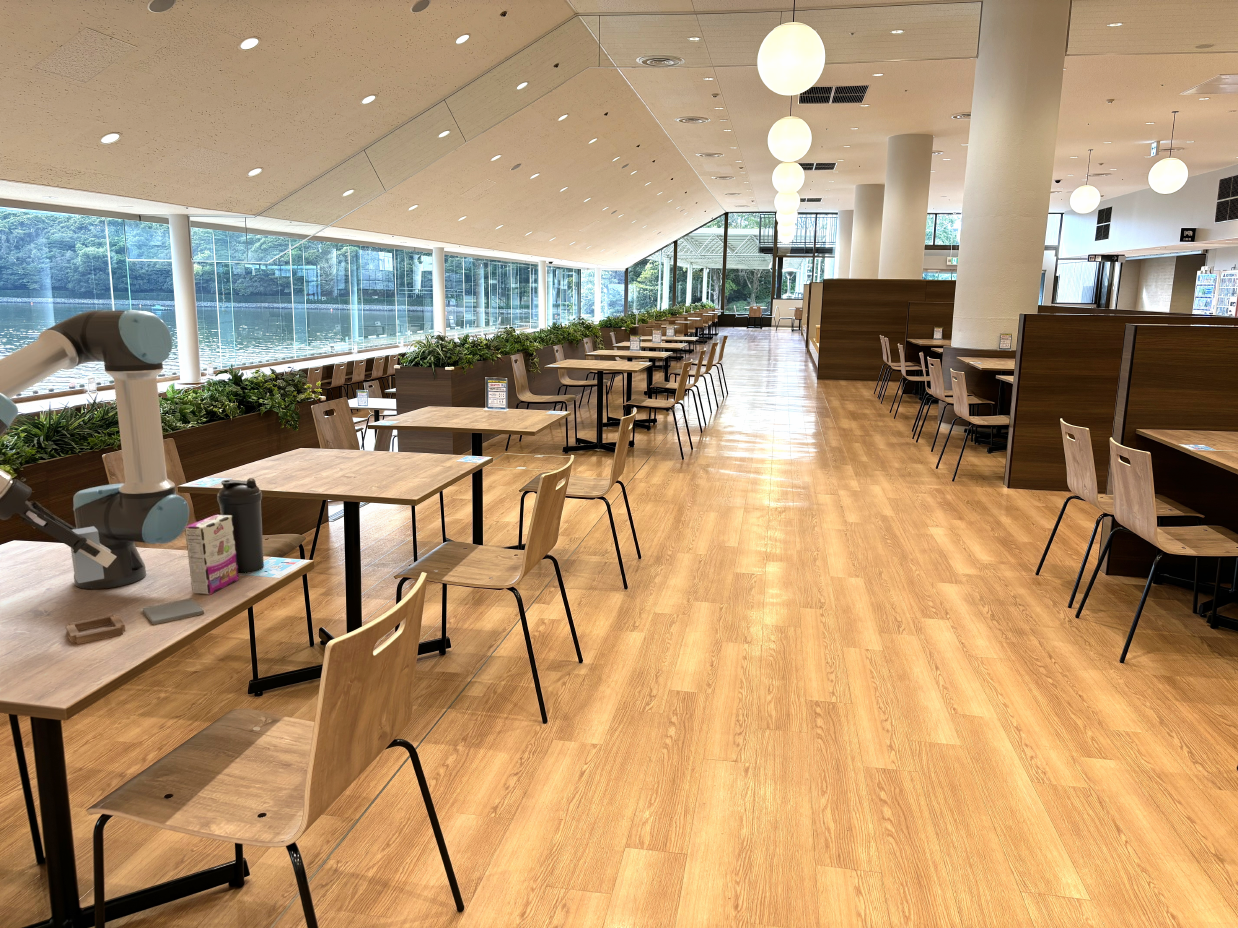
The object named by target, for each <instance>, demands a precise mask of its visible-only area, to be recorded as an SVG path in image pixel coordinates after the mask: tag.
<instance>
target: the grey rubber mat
mask: <svg viewBox="0 0 1238 928" xmlns="http://www.w3.org/2000/svg"><path fill="white" fill-rule="evenodd" d="M141 610H142V613H143V614H144V615H145V616H146V617H147V619H148V620H149V621H150V623H151V624H152V625H159V624H163V623H168V622H173V621H176V620H177V621H178V620H181V619H186V618H190V617H196V616H200V615H204V614H205V611H204V609H203V608H202V607H201V606H200V605H199V604H198V603H197V602H196V601H195V600H194V599H193V598H192V597H191V598H190V597H189V598H185V599H180V600H176V601H175V600H174V601H170V602H166V603H161V604H155V605H150V606H146V607H142V608H141Z"/></svg>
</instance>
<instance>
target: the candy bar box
mask: <svg viewBox="0 0 1238 928" xmlns="http://www.w3.org/2000/svg"><path fill="white" fill-rule="evenodd" d="M184 531H185V539H186V540H185V541H186V548H187V549H186V550H187V557H188V565H189V573H190V582H191V590H192V594H194V595H212V594H215V593H216V592H218V591H220V590H222V589H224V588H226V587H227V586H229V585H231V584H233V583H236V582H238V580H240V578H239V574H238V566H237V558H236V548H235V538H234V529H233V520H232V516H231V515H221V514H214V515H212V516H209V517H206V518H204V519H202V520H199V521H196V522H194V523H191V524H189V525H186V527H185V529H184Z"/></svg>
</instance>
